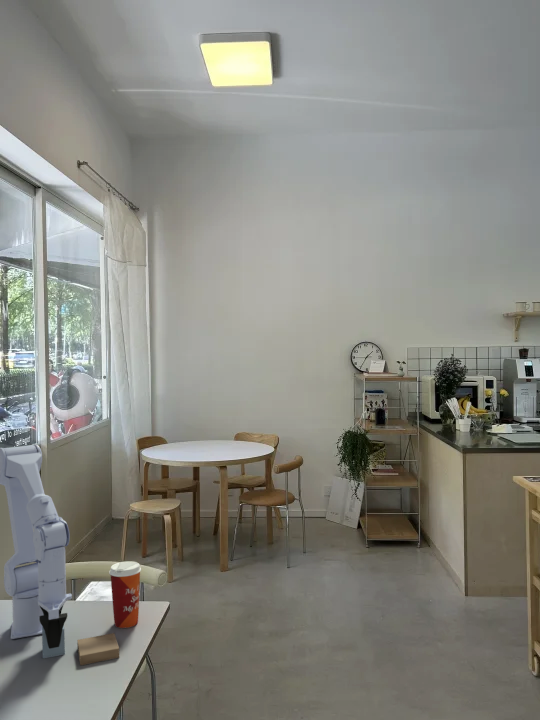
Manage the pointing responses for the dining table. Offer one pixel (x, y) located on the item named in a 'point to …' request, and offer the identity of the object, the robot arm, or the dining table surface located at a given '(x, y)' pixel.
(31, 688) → the dining table surface
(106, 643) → the base
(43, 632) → the block
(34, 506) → the robot arm
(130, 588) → the paper cup
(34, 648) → the dining table surface
